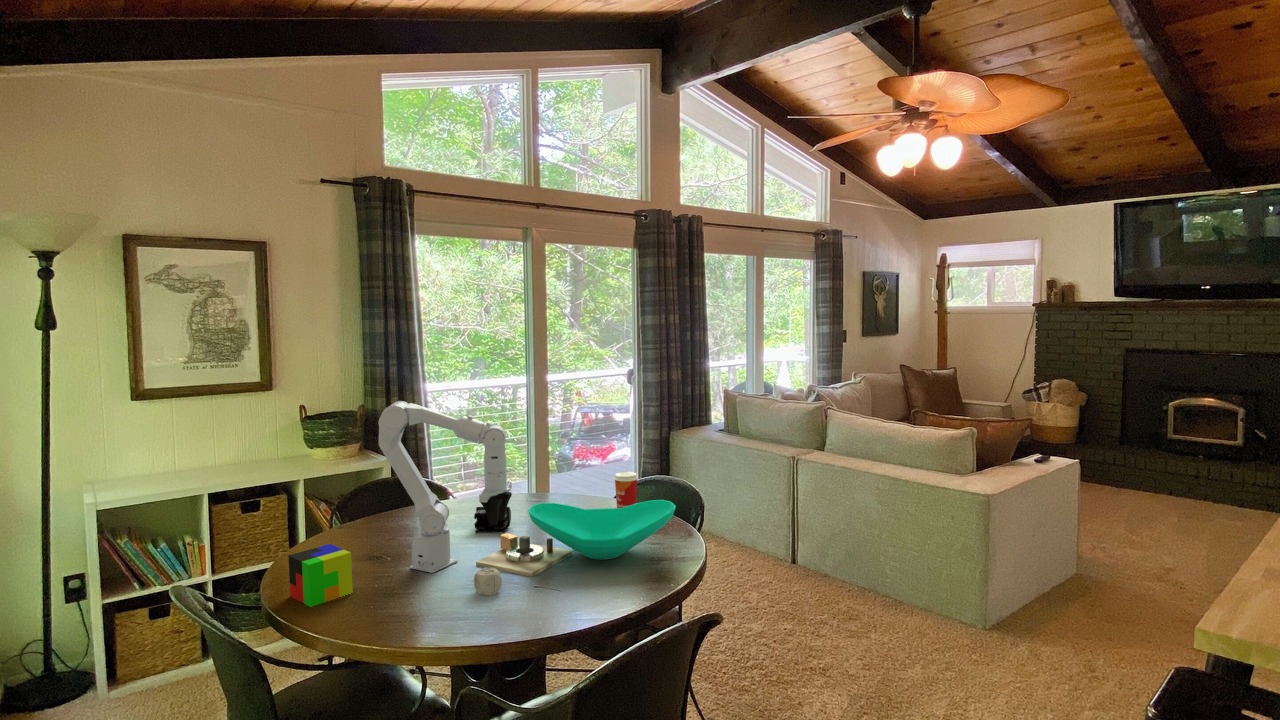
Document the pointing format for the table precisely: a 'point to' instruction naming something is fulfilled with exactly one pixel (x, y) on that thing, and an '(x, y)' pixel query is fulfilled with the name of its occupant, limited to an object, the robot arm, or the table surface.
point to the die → (487, 581)
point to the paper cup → (625, 488)
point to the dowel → (549, 545)
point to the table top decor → (602, 526)
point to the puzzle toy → (320, 574)
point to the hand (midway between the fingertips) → (496, 522)
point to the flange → (513, 551)
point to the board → (525, 567)
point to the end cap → (485, 527)
